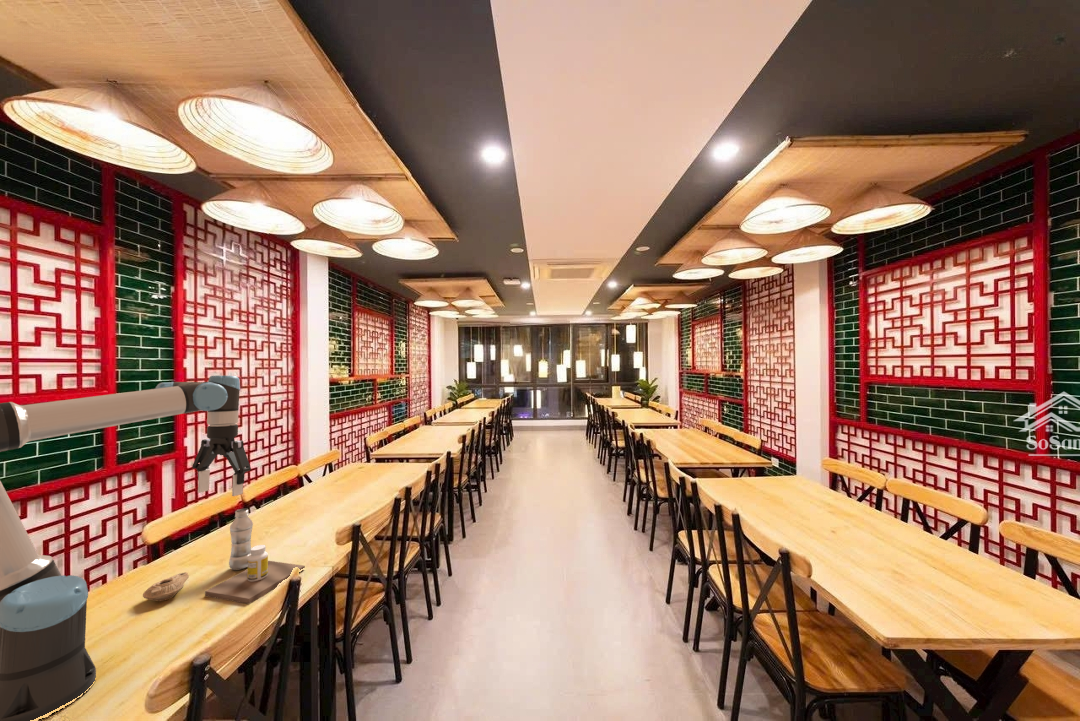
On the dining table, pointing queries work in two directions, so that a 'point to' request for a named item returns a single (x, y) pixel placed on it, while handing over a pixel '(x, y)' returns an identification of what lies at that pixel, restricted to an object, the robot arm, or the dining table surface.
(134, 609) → the dining table surface
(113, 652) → the dining table surface
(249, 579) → the supplement bottle
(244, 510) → the plastic bottle
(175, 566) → the dining table surface
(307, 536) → the dining table surface
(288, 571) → the serving board
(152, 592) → the pottery oil lamp
